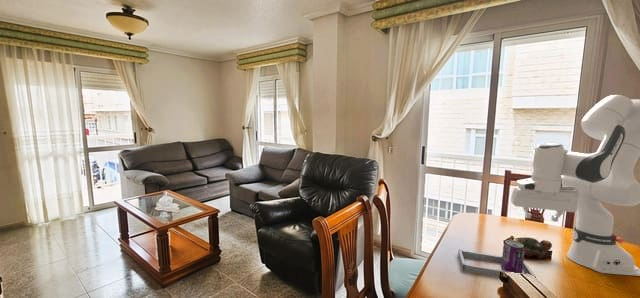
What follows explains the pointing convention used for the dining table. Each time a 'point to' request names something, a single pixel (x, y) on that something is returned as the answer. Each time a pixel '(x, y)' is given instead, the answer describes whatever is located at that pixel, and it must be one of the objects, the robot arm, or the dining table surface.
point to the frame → (489, 258)
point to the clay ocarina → (535, 247)
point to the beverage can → (513, 256)
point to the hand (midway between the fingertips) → (540, 219)
